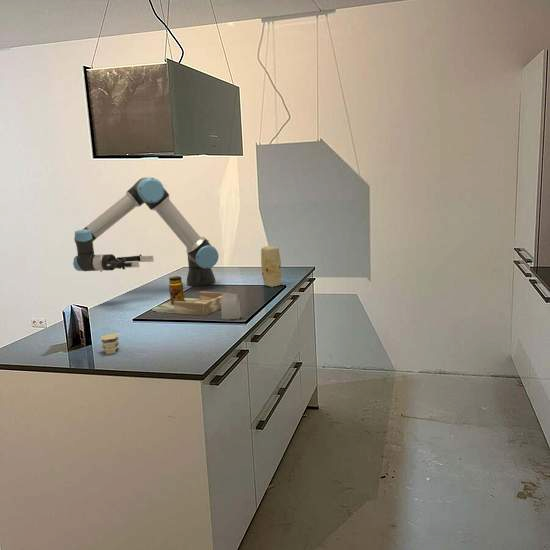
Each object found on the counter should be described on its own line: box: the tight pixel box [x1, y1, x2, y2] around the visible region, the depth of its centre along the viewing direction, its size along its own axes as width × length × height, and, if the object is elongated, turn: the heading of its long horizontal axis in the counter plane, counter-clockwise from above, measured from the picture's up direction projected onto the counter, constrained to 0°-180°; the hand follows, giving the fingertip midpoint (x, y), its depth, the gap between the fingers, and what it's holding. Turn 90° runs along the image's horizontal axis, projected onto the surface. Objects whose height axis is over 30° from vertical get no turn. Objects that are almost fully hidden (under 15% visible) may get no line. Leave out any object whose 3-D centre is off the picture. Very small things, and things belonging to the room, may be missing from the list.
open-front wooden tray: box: [151, 291, 231, 316], centre depth 261 cm, size 20×28×5 cm
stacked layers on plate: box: [100, 333, 120, 355], centre depth 206 cm, size 10×9×6 cm
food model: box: [260, 245, 283, 288], centre depth 294 cm, size 10×7×20 cm
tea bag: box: [220, 293, 242, 320], centre depth 238 cm, size 4×7×10 cm, turn 69°
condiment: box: [168, 275, 186, 306], centre depth 264 cm, size 7×8×12 cm
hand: (146, 261), depth 270 cm, fingers open, 13 cm apart
